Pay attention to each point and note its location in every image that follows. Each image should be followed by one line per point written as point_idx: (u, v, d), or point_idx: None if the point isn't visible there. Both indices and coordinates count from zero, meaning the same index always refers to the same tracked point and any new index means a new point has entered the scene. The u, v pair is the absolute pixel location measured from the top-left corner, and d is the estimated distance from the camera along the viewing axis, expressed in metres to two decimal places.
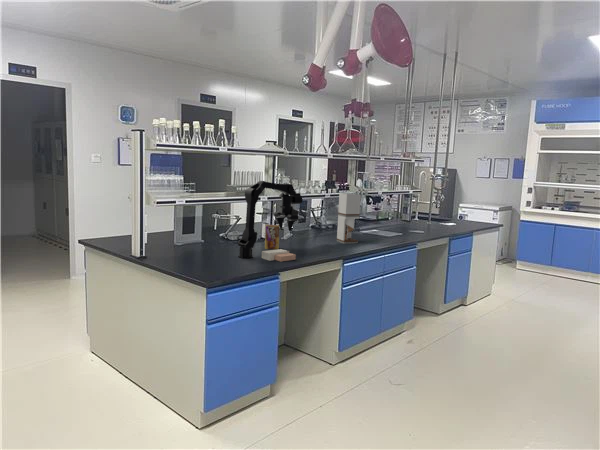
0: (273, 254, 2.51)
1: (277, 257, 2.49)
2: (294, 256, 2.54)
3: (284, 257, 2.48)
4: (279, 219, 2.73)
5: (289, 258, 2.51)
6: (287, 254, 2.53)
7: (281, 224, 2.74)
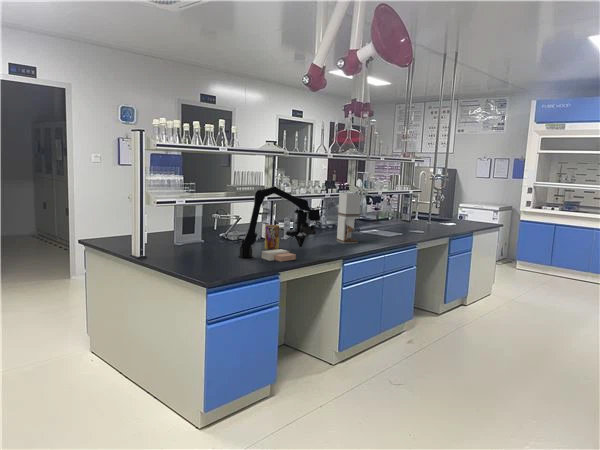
0: (273, 254, 2.51)
1: (277, 257, 2.49)
2: (294, 256, 2.54)
3: (284, 257, 2.48)
4: None
5: (289, 258, 2.51)
6: (287, 254, 2.53)
7: None
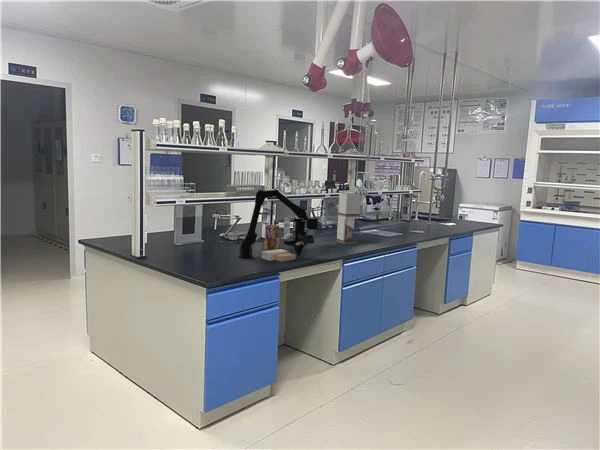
0: (273, 254, 2.51)
1: (277, 257, 2.49)
2: (294, 256, 2.54)
3: (284, 257, 2.48)
4: None
5: (289, 258, 2.51)
6: (287, 254, 2.53)
7: None
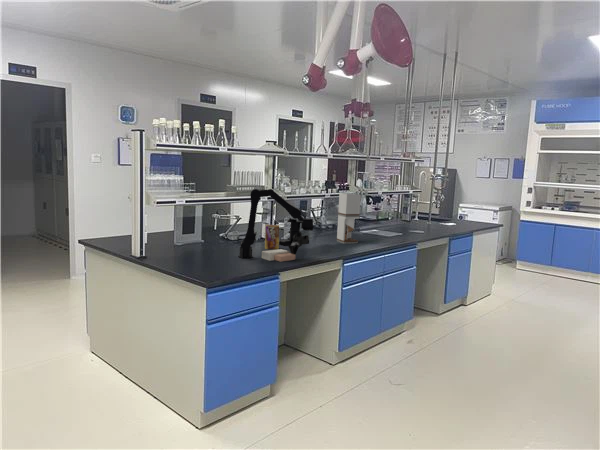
0: (273, 254, 2.51)
1: (277, 257, 2.49)
2: (294, 256, 2.53)
3: (284, 257, 2.48)
4: None
5: (289, 258, 2.51)
6: (287, 254, 2.53)
7: None
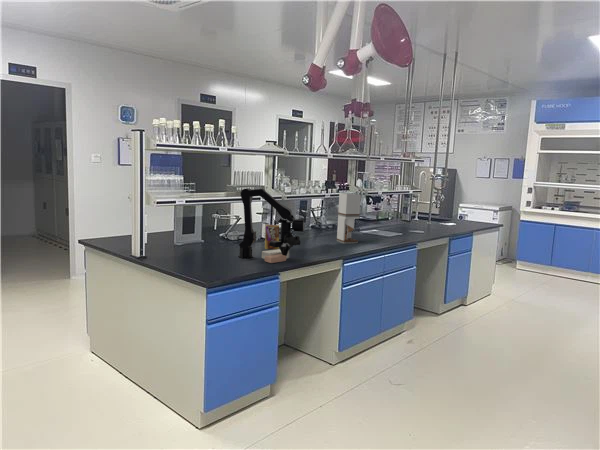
0: (273, 254, 2.51)
1: (267, 258, 2.44)
2: (285, 257, 2.49)
3: (274, 258, 2.44)
4: None
5: (279, 259, 2.46)
6: (277, 255, 2.49)
7: None
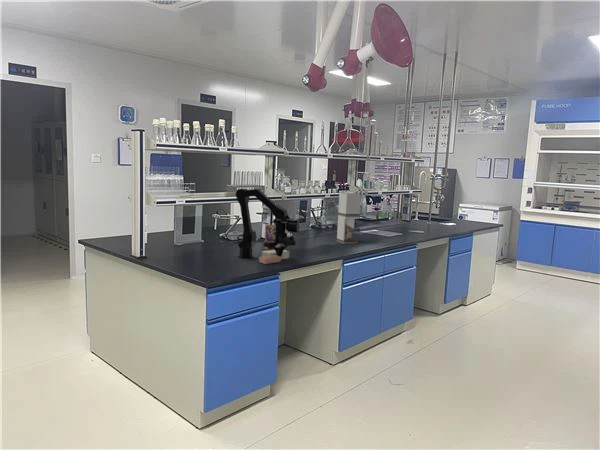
0: (273, 254, 2.51)
1: (261, 259, 2.42)
2: (279, 258, 2.46)
3: (269, 259, 2.41)
4: None
5: (274, 260, 2.44)
6: (272, 256, 2.46)
7: None
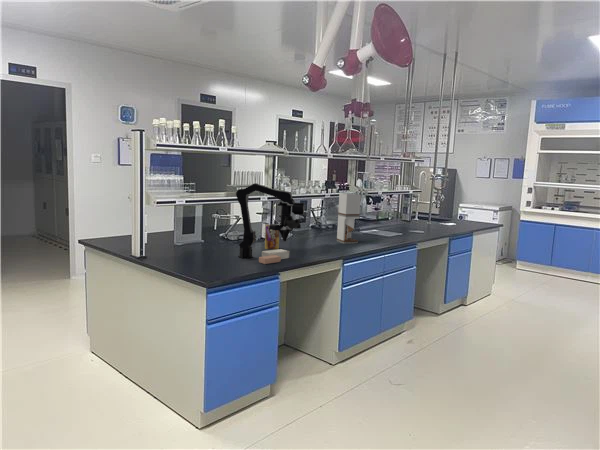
0: (273, 254, 2.51)
1: (261, 259, 2.42)
2: (279, 258, 2.46)
3: (268, 259, 2.41)
4: None
5: (274, 260, 2.44)
6: (272, 256, 2.46)
7: None
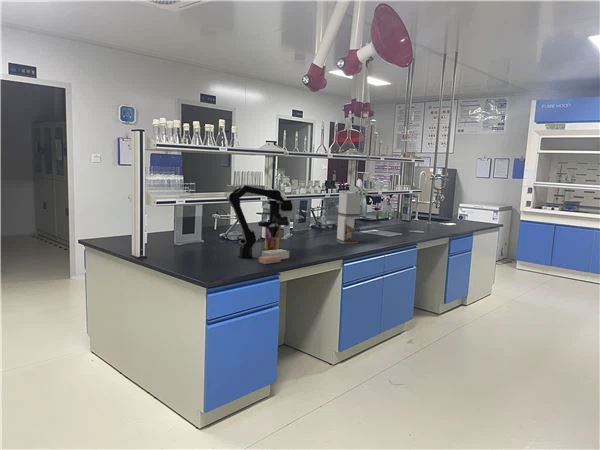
0: (273, 254, 2.51)
1: (261, 259, 2.42)
2: (279, 258, 2.46)
3: (268, 259, 2.41)
4: None
5: (274, 260, 2.44)
6: (272, 256, 2.46)
7: None
